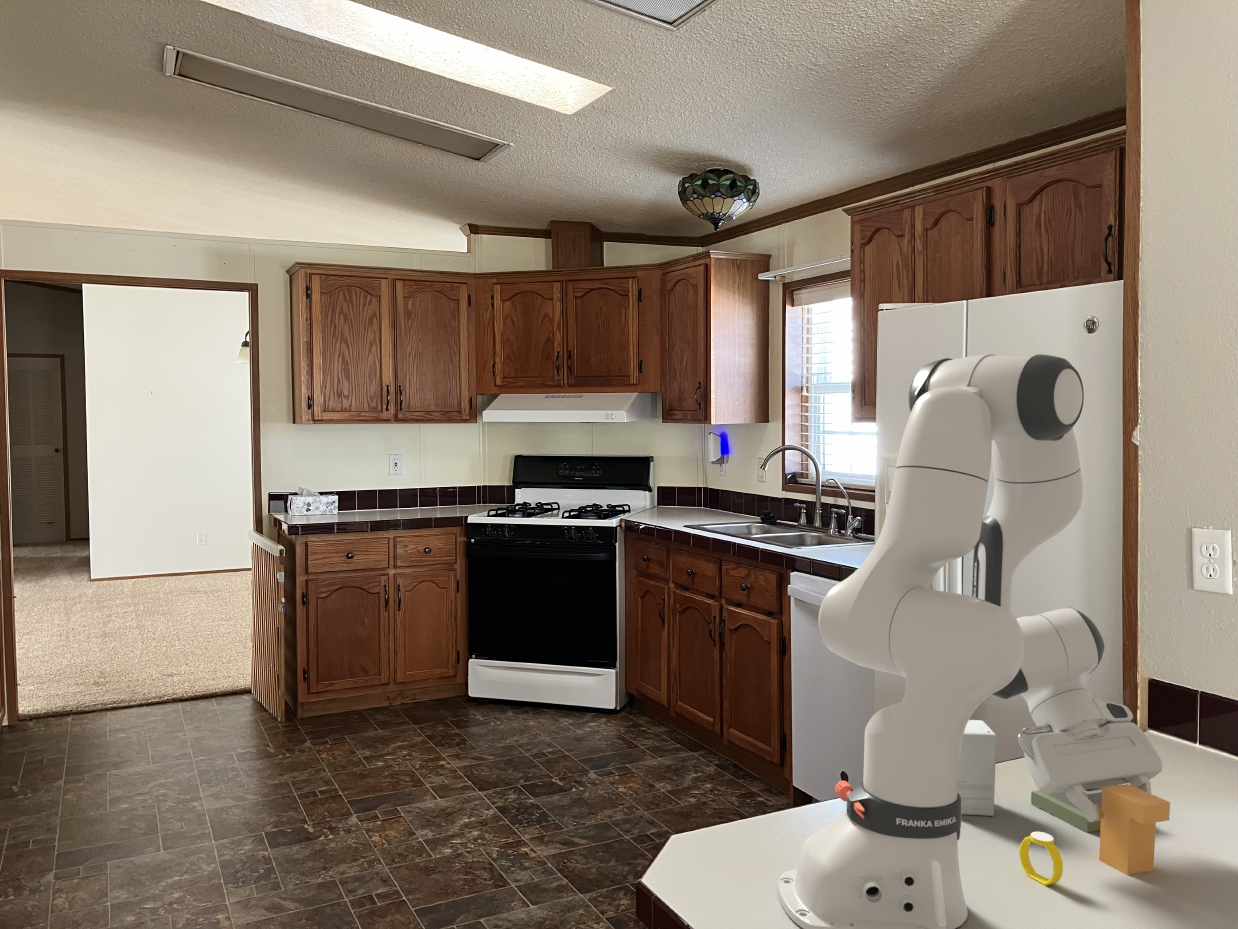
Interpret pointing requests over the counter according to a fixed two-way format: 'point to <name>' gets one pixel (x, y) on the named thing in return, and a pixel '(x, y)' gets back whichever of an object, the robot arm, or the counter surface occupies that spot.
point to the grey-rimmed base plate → (1069, 807)
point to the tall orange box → (1130, 827)
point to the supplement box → (977, 769)
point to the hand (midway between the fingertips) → (1124, 815)
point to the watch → (1048, 842)
